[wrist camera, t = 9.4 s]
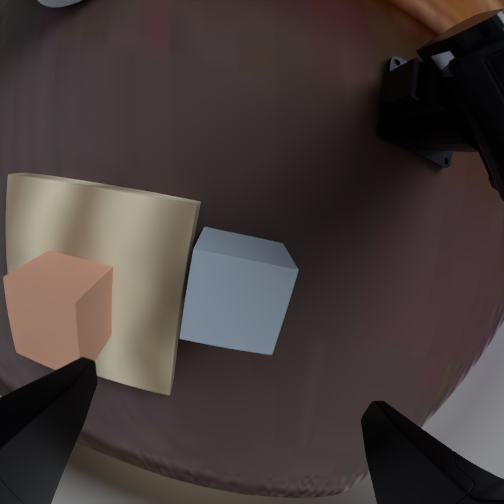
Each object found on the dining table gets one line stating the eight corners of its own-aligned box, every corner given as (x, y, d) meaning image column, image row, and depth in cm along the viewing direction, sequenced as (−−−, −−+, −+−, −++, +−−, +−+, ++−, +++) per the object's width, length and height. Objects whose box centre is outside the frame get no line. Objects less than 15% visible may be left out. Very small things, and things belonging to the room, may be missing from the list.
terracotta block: (113, 266, 16) (75, 302, 11) (111, 334, 18) (83, 380, 13) (49, 250, 16) (3, 277, 11) (52, 315, 17) (16, 352, 12)
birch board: (201, 201, 17) (196, 205, 16) (173, 378, 21) (169, 395, 19) (24, 172, 16) (8, 174, 14) (29, 333, 20) (18, 344, 18)
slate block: (282, 242, 19) (298, 269, 14) (263, 311, 20) (272, 354, 15) (204, 226, 18) (193, 248, 13) (191, 298, 19) (179, 338, 15)
